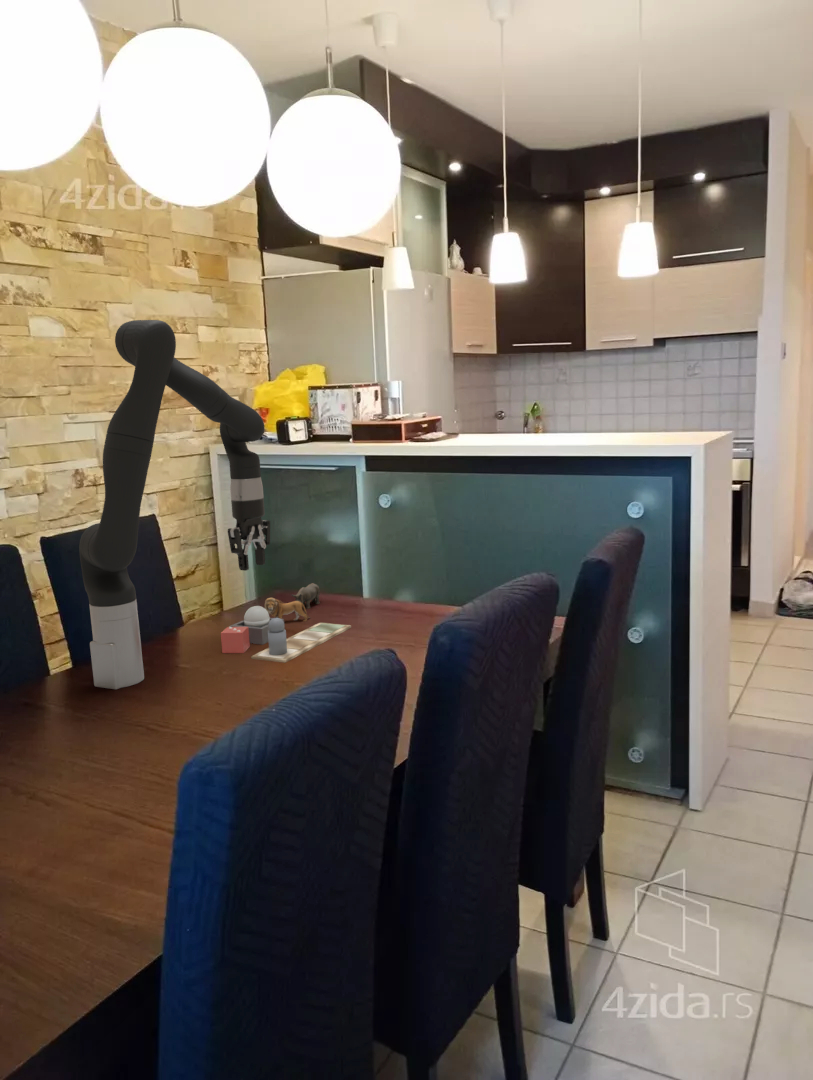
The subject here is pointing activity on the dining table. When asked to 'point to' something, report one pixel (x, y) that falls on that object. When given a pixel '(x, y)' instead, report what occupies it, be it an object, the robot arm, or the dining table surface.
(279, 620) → the pawn
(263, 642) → the dome collar
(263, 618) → the dome
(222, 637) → the die
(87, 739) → the dining table surface
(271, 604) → the lion figurine
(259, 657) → the board
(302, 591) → the rhino figurine
